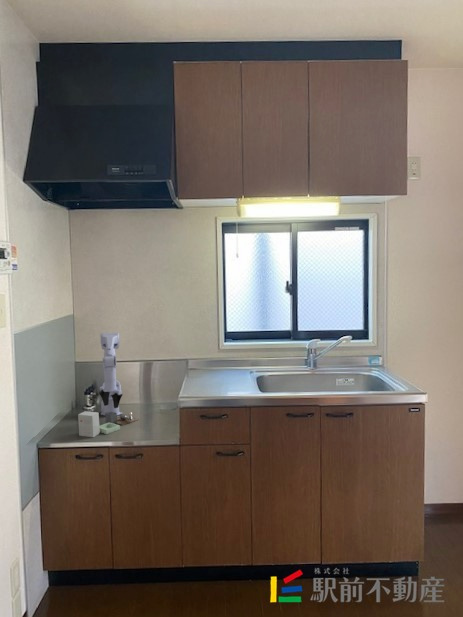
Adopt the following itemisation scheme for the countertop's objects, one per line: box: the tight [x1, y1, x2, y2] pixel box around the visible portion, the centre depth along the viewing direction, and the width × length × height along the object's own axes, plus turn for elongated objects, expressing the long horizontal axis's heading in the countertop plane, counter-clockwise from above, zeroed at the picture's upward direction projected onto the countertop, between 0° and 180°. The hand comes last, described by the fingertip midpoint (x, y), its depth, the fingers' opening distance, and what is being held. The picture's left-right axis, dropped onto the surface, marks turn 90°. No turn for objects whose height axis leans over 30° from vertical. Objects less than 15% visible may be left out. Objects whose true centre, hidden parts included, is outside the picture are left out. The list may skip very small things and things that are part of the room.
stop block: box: [104, 412, 118, 425], centre depth 257 cm, size 4×4×6 cm
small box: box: [77, 410, 101, 438], centre depth 243 cm, size 8×6×10 cm
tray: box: [99, 422, 121, 435], centre depth 249 cm, size 8×8×2 cm
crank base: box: [117, 416, 140, 426], centre depth 264 cm, size 11×11×1 cm
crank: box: [119, 411, 135, 421], centre depth 262 cm, size 9×4×4 cm, turn 52°
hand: (111, 406), depth 257 cm, fingers open, 7 cm apart
